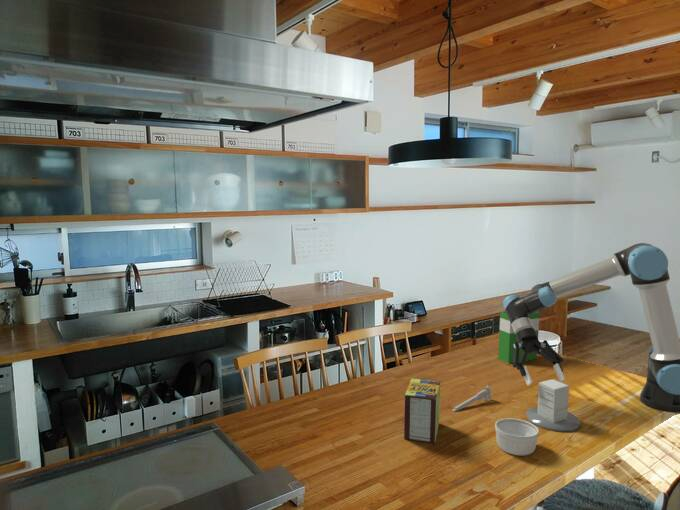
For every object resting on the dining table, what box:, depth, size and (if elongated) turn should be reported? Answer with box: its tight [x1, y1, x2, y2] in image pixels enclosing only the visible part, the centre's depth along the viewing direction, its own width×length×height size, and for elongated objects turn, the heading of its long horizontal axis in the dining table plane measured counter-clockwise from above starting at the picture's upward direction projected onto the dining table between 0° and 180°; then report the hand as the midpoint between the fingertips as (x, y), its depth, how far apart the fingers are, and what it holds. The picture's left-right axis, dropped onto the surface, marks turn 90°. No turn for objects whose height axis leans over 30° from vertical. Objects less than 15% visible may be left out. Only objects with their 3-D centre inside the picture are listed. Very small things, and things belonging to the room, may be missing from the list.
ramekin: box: [494, 417, 540, 457], centre depth 156 cm, size 13×13×7 cm
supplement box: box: [537, 378, 570, 423], centre depth 175 cm, size 7×7×13 cm
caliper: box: [451, 385, 492, 413], centre depth 188 cm, size 20×1×6 cm, turn 123°
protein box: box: [403, 378, 441, 444], centre depth 166 cm, size 10×15×16 cm
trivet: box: [525, 406, 581, 433], centre depth 176 cm, size 18×18×1 cm
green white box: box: [497, 310, 540, 364], centre depth 241 cm, size 18×7×24 cm, turn 111°
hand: (546, 382), depth 178 cm, fingers open, 13 cm apart
